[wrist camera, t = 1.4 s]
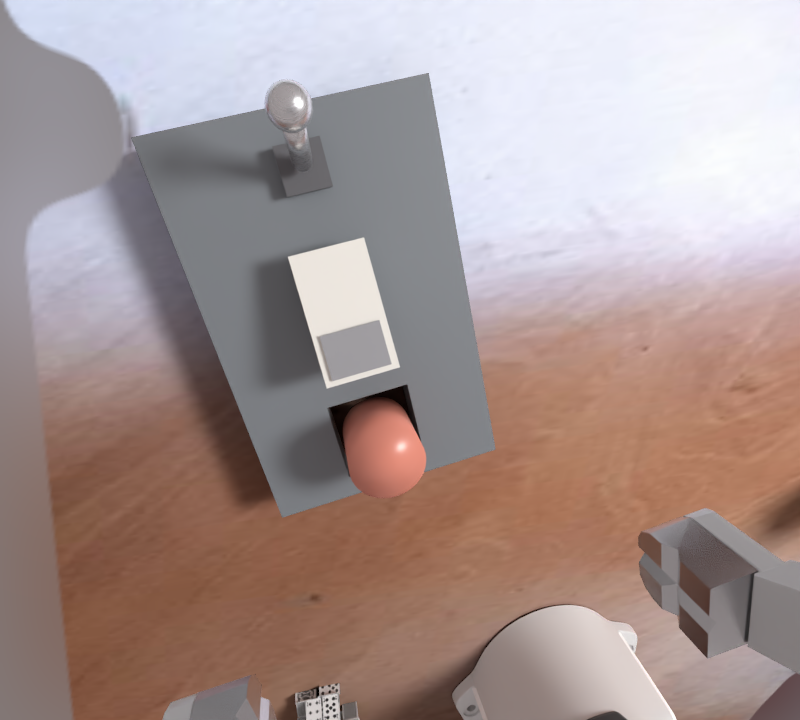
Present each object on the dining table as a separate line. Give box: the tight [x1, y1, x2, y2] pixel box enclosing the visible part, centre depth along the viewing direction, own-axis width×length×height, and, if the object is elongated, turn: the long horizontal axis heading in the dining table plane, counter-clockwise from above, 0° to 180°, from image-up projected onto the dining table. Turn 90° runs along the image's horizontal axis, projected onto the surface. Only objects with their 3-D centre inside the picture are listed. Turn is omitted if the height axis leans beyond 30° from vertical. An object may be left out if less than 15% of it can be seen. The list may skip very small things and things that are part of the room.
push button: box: [343, 397, 426, 498], centre depth 27 cm, size 4×4×4 cm
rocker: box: [288, 237, 400, 388], centre depth 24 cm, size 7×4×1 cm, turn 13°
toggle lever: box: [265, 79, 313, 172], centre depth 19 cm, size 2×2×6 cm
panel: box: [131, 73, 495, 517], centre depth 27 cm, size 23×15×4 cm, turn 13°
